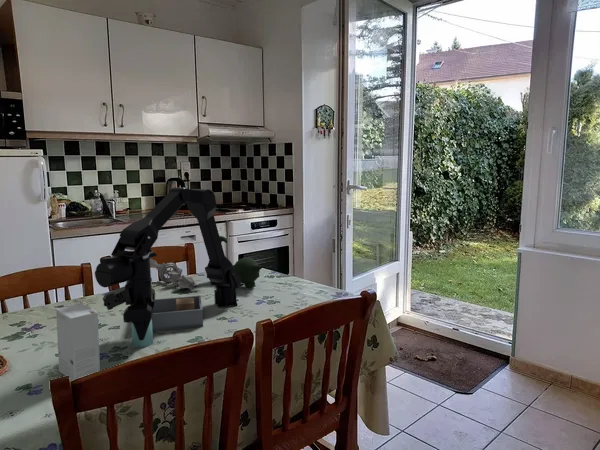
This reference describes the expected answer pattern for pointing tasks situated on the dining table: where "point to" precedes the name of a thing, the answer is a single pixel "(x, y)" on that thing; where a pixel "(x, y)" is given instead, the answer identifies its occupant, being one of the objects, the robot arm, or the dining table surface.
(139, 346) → the teal capsule
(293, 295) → the dining table surface
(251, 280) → the toy figurine
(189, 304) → the walnut block
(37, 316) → the dining table surface
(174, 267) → the spaceship
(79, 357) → the skincare box
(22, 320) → the dining table surface
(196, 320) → the tote
